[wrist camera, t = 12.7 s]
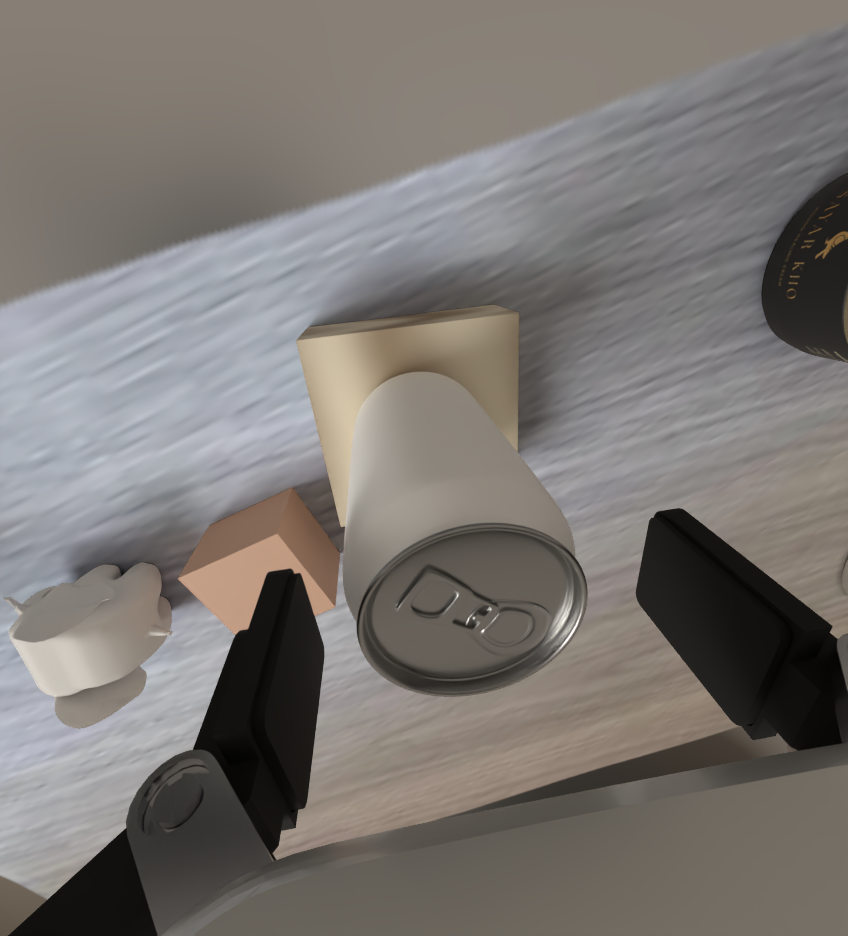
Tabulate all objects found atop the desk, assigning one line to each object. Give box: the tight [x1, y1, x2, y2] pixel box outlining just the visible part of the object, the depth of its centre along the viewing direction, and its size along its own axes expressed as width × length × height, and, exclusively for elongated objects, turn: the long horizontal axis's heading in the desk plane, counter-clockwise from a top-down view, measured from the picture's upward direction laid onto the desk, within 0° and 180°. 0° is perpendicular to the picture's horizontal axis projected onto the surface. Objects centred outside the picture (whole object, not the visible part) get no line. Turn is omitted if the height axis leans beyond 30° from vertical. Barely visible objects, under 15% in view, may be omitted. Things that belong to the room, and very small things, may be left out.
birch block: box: [296, 305, 519, 527], centre depth 22 cm, size 10×10×4 cm
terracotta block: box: [178, 487, 340, 635], centre depth 25 cm, size 6×6×5 cm
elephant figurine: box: [4, 562, 172, 729], centre depth 24 cm, size 8×10×7 cm
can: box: [343, 372, 587, 697], centre depth 15 cm, size 6×6×12 cm
